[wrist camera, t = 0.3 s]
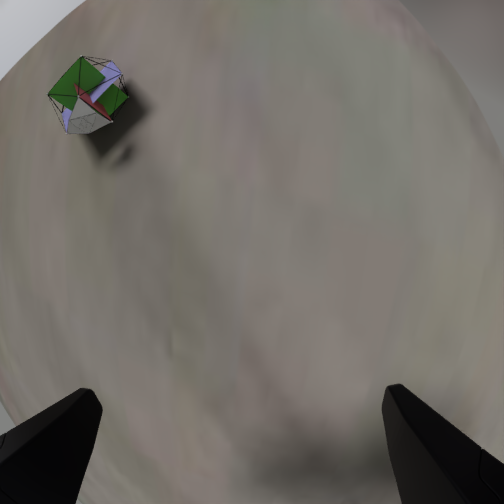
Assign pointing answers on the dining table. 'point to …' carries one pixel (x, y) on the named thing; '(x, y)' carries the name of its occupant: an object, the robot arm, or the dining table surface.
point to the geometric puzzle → (88, 96)
